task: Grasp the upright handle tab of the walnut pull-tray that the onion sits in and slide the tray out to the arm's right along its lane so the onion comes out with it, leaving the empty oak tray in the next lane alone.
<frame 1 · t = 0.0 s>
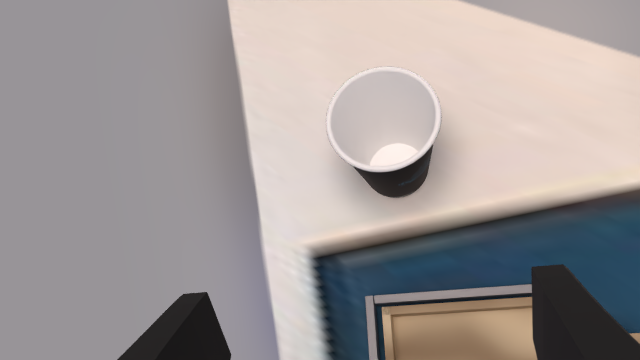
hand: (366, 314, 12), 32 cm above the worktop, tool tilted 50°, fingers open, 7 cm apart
dixie cup: (397, 172, 47), on the worktop
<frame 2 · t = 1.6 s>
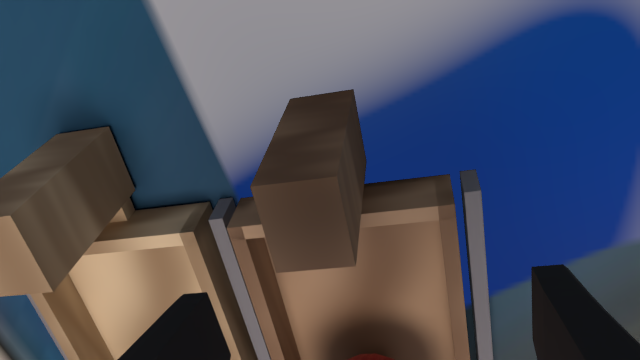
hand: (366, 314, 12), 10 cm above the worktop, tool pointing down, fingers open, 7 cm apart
oak tray: (128, 349, 24), point 3 cm above the worktop, slide at 0.0 cm
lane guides: (266, 320, 26), on the worktop
walnut tray: (356, 336, 22), point 3 cm above the worktop, slide at 0.0 cm, touching onion
onion: (376, 356, 26), resting on walnut tray
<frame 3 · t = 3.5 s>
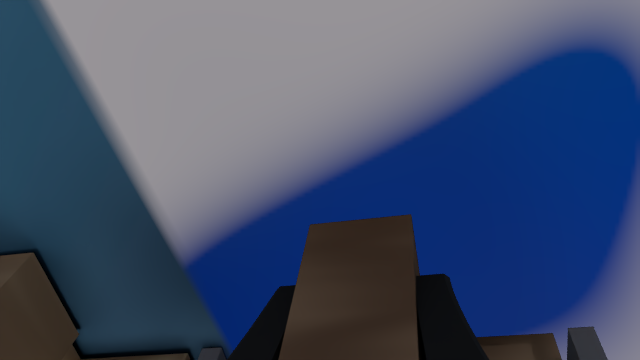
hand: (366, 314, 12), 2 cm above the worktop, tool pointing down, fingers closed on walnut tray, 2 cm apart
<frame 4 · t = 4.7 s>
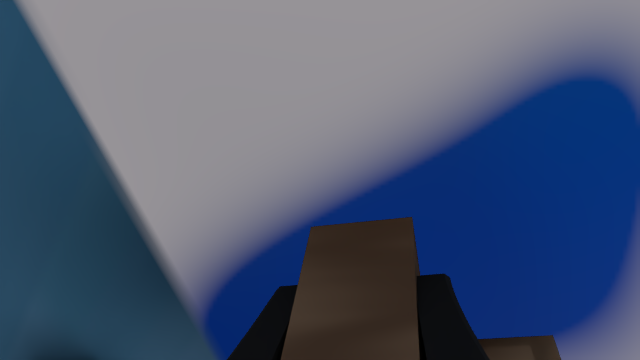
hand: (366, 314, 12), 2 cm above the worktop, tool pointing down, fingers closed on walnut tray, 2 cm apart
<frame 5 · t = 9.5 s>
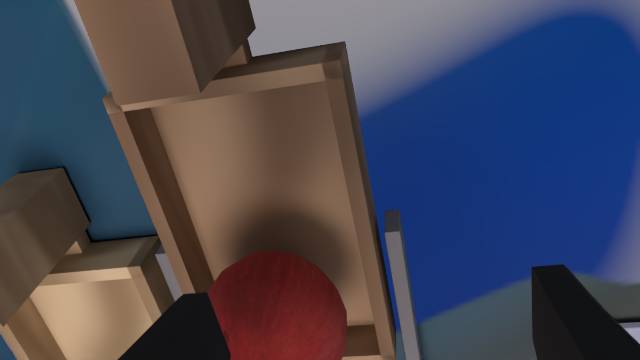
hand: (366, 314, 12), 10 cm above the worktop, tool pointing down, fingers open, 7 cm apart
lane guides: (217, 342, 28), on the worktop
walnut tray: (246, 219, 20), point 3 cm above the worktop, slide at 7.4 cm, touching onion
onion: (288, 264, 25), resting on walnut tray
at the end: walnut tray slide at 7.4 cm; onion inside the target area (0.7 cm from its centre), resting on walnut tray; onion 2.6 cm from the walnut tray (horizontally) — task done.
